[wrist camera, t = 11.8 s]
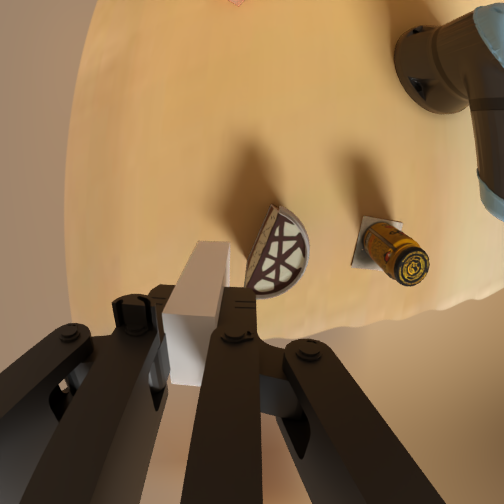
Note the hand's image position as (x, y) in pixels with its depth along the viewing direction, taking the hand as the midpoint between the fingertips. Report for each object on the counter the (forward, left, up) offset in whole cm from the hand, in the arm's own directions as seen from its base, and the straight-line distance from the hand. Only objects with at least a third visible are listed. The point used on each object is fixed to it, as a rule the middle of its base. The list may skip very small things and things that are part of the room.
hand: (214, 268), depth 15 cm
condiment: (-22, +8, -31) cm, 39 cm away
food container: (-6, +8, -31) cm, 32 cm away
